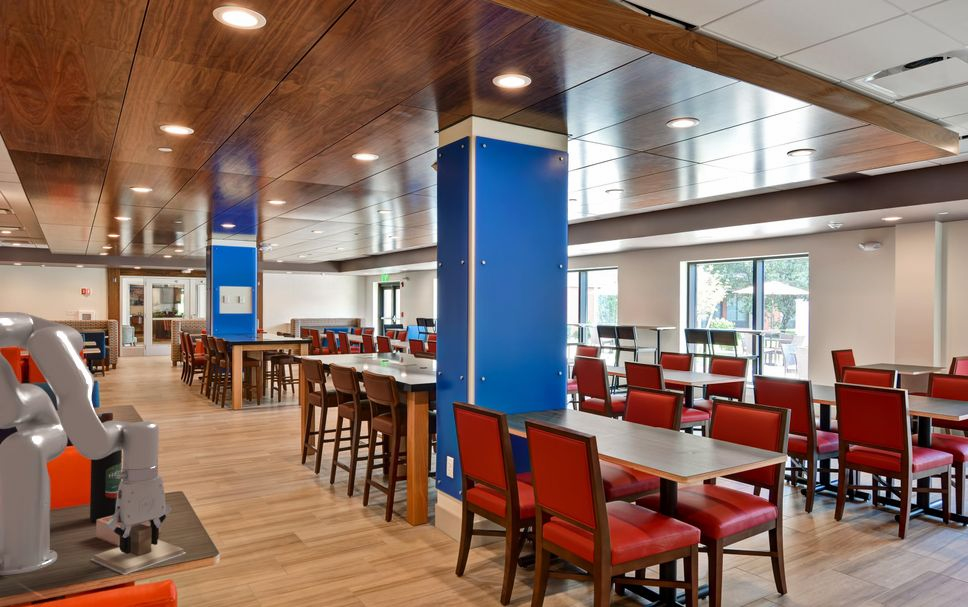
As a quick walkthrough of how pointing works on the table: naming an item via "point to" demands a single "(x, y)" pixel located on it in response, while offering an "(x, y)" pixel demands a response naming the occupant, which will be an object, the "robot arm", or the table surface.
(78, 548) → the table surface
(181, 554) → the mat
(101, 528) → the pink open box
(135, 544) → the lid
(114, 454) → the wine bottle
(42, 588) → the table surface
